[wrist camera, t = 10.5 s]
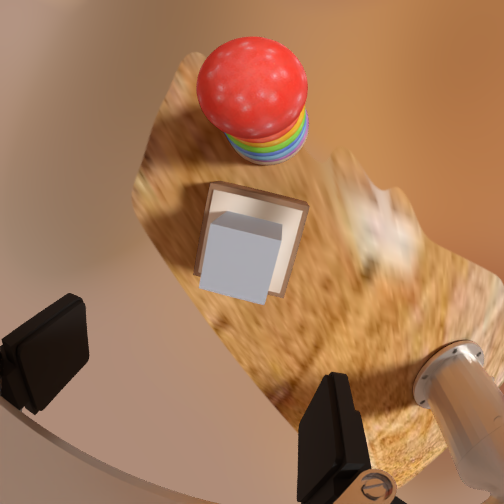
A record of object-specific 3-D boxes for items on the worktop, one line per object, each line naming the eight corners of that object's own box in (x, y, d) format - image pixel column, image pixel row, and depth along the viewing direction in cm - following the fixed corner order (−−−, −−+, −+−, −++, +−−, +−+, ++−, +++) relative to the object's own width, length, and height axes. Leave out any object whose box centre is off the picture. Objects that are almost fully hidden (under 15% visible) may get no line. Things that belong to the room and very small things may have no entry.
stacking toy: (214, 143, 28) (114, 114, 10) (252, 77, 26) (206, -29, 8) (283, 179, 29) (279, 198, 11) (321, 113, 26) (374, 36, 8)
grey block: (282, 224, 26) (281, 240, 20) (268, 276, 27) (264, 305, 21) (227, 210, 26) (210, 223, 20) (216, 262, 27) (199, 288, 22)
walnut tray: (306, 201, 29) (309, 207, 25) (283, 282, 32) (283, 299, 28) (220, 180, 29) (209, 183, 25) (203, 262, 32) (192, 275, 28)
